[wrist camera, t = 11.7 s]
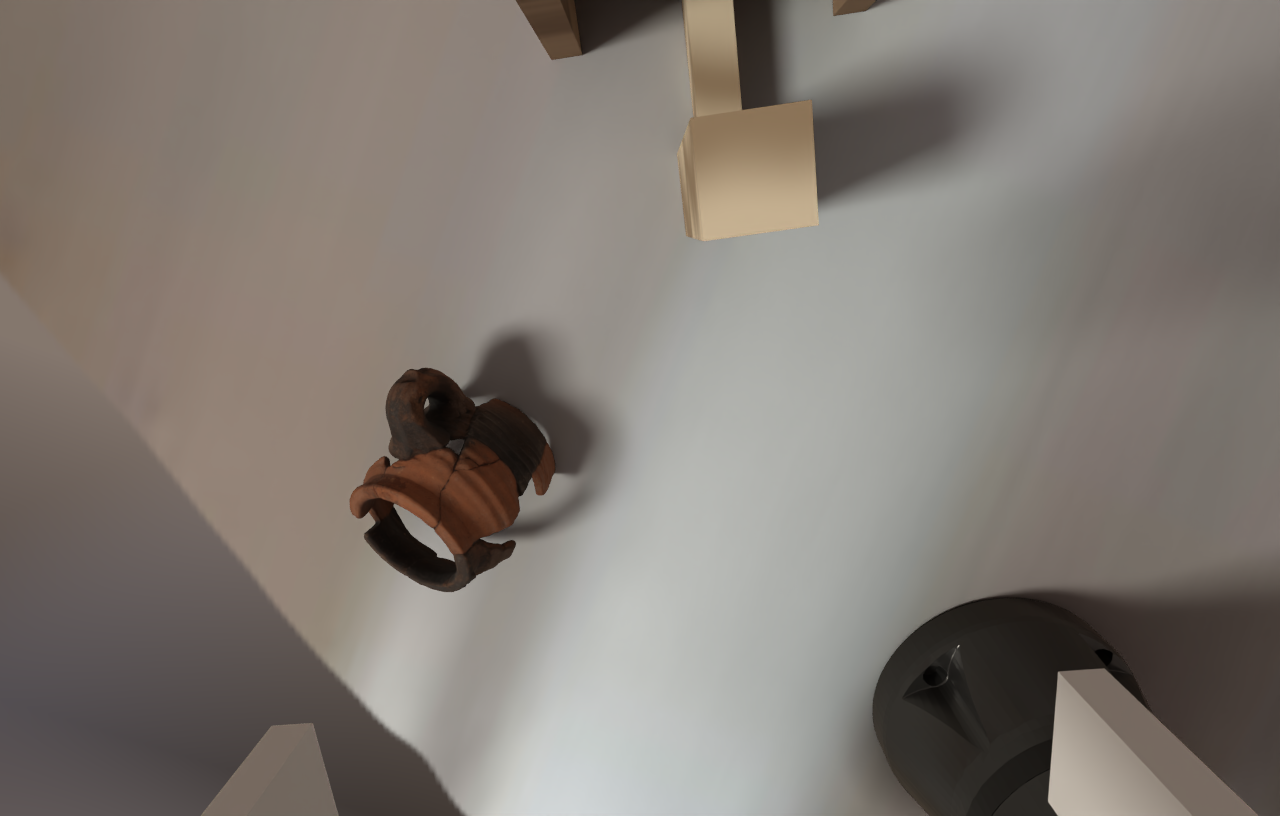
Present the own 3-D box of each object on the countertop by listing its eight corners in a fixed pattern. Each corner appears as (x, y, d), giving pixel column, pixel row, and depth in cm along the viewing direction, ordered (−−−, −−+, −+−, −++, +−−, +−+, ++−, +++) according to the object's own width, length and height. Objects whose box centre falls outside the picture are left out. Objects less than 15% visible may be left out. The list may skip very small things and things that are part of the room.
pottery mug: (586, 508, 38) (510, 619, 32) (466, 494, 42) (379, 589, 36) (517, 328, 32) (407, 423, 26) (386, 333, 36) (266, 416, 30)
